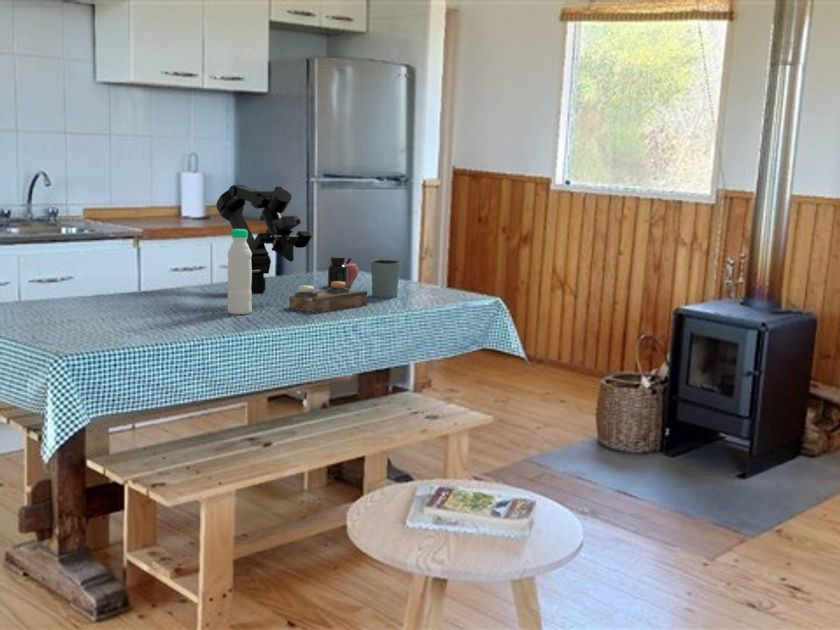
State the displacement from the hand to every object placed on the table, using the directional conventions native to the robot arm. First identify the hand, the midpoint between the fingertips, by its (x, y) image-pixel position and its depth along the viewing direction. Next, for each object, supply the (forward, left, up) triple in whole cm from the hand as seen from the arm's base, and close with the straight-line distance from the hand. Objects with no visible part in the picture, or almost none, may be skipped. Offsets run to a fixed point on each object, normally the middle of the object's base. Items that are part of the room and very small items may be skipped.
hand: (291, 260), depth 310 cm
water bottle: (-14, -18, -14) cm, 27 cm away
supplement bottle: (+15, +25, -14) cm, 32 cm away
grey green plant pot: (+31, +17, -14) cm, 37 cm away
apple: (+18, +37, -14) cm, 43 cm away
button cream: (+5, -8, -13) cm, 16 cm away
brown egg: (+15, +2, -13) cm, 20 cm away
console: (+12, -5, -14) cm, 19 cm away
